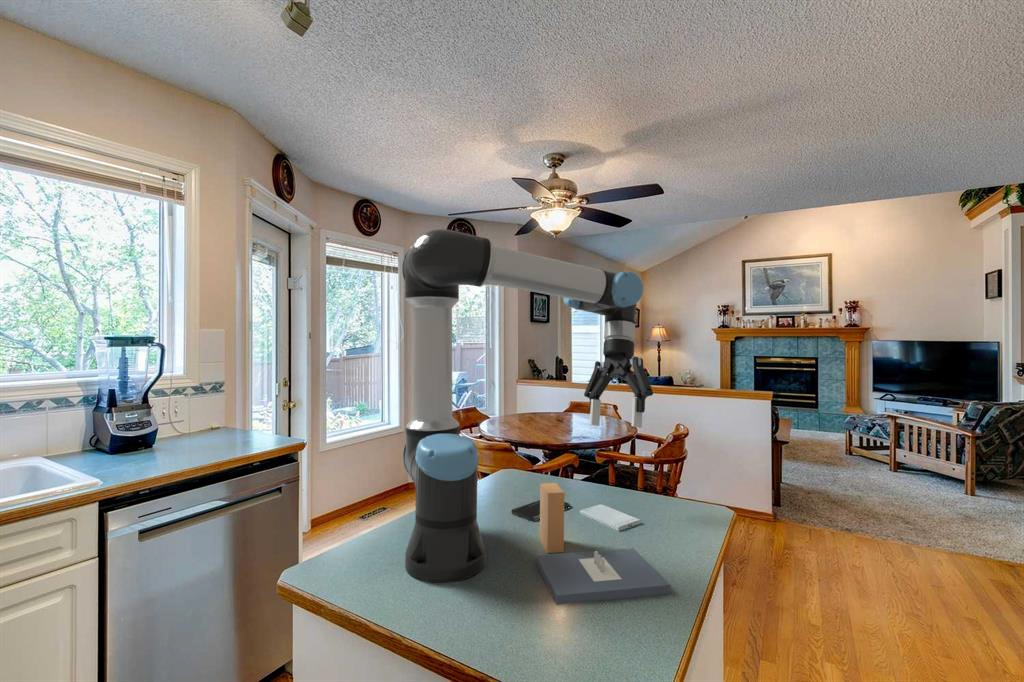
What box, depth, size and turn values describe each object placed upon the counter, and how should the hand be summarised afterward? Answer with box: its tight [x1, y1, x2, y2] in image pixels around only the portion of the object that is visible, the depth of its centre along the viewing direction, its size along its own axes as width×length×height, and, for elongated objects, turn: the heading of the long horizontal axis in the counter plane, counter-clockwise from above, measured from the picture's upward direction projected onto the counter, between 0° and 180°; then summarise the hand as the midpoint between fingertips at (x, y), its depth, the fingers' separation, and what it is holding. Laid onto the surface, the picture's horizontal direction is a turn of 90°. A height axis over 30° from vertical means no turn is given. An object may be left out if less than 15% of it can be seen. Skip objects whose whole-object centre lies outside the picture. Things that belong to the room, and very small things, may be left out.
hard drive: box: [578, 504, 642, 532], centre depth 110 cm, size 2×8×12 cm
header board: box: [535, 547, 671, 606], centre depth 82 cm, size 20×14×4 cm
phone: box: [510, 499, 571, 522], centre depth 115 cm, size 8×1×15 cm
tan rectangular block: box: [539, 482, 565, 554], centre depth 95 cm, size 3×6×12 cm, turn 11°
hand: (614, 426), depth 110 cm, fingers open, 13 cm apart
